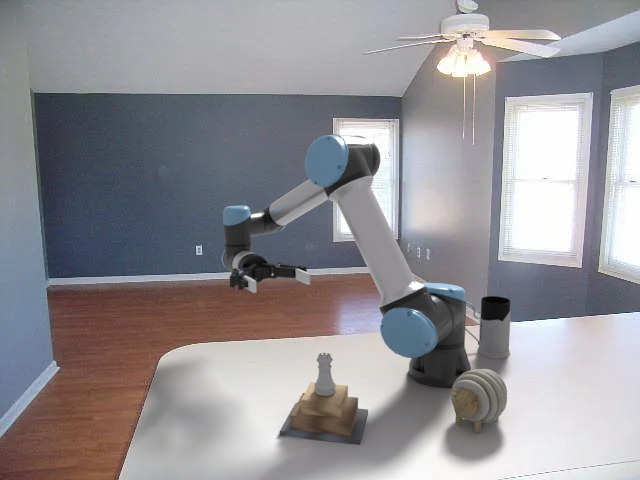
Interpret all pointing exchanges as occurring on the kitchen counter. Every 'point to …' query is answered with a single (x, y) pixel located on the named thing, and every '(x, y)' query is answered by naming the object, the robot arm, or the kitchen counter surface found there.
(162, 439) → the kitchen counter surface
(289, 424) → the plinth
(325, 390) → the rook chess piece
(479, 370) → the toy sheep
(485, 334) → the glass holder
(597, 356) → the kitchen counter surface
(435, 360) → the robot arm
